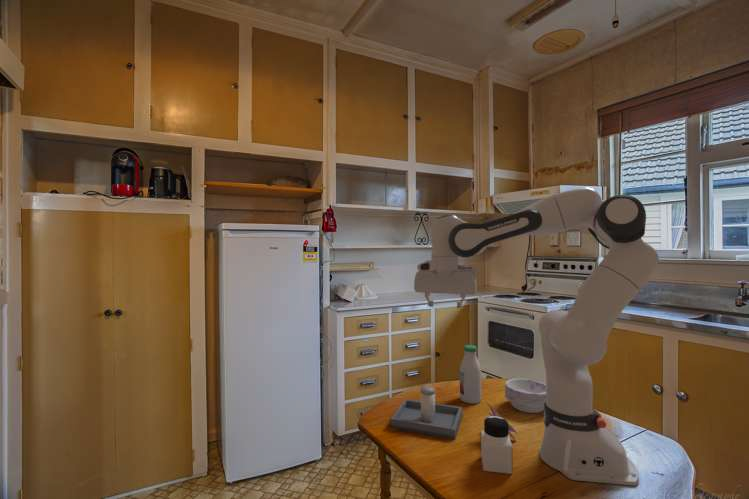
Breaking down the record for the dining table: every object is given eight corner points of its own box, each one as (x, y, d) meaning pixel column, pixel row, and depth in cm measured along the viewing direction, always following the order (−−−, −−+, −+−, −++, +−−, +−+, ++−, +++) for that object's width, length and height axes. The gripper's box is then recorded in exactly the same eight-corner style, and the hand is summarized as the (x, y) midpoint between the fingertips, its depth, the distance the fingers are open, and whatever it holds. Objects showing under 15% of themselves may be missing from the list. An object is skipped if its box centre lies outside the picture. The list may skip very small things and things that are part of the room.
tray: (462, 416, 126) (462, 407, 126) (455, 439, 111) (455, 429, 111) (404, 407, 133) (404, 398, 133) (390, 428, 118) (390, 418, 118)
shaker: (436, 417, 123) (436, 386, 123) (433, 423, 119) (433, 392, 119) (422, 415, 125) (422, 385, 125) (419, 421, 121) (419, 390, 120)
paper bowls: (554, 404, 135) (554, 382, 135) (547, 421, 122) (547, 397, 122) (510, 395, 143) (510, 374, 143) (499, 410, 130) (499, 387, 130)
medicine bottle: (512, 474, 94) (512, 427, 94) (483, 471, 96) (483, 424, 95) (508, 458, 101) (508, 414, 101) (481, 455, 103) (480, 412, 102)
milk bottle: (483, 398, 140) (483, 345, 140) (477, 406, 134) (477, 350, 133) (463, 394, 144) (463, 342, 144) (456, 401, 138) (456, 347, 138)
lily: (517, 457, 104) (529, 423, 106) (476, 436, 106) (488, 403, 108) (507, 448, 115) (518, 417, 117) (470, 429, 118) (482, 399, 120)
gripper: (478, 265, 122) (478, 307, 123) (417, 264, 130) (417, 304, 130) (476, 266, 117) (476, 310, 117) (412, 265, 124) (412, 306, 124)
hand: (444, 307), depth 123 cm, fingers open, 8 cm apart
